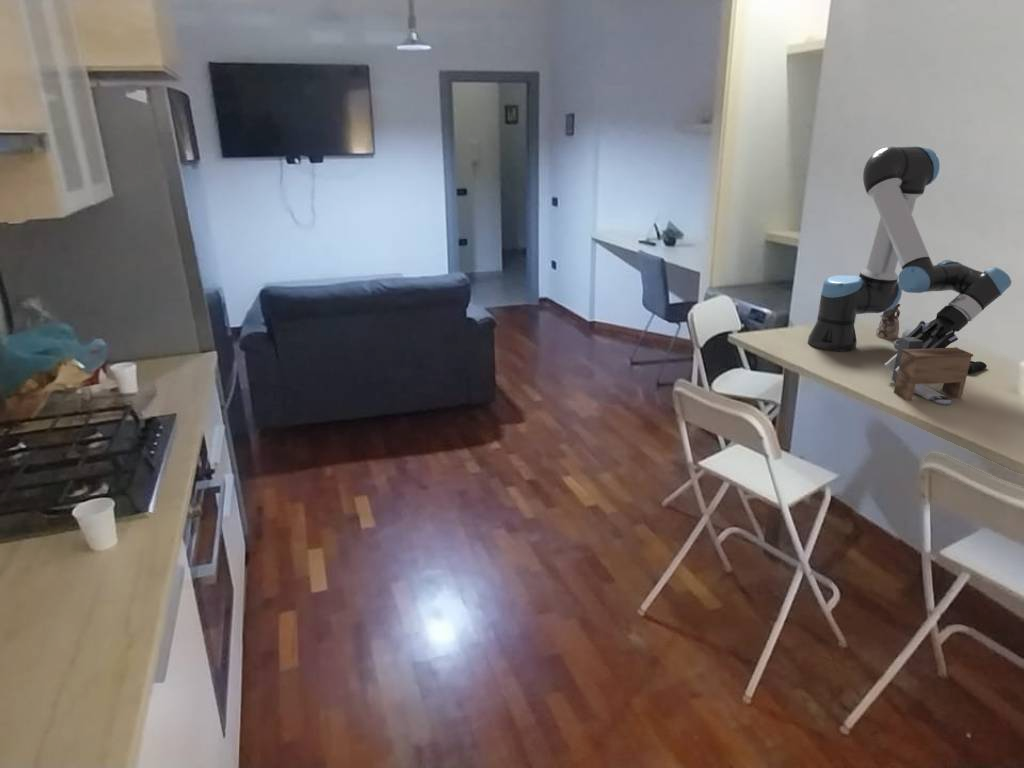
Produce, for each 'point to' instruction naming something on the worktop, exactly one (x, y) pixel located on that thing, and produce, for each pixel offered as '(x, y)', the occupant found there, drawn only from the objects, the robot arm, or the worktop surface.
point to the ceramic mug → (906, 335)
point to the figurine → (889, 324)
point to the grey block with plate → (903, 344)
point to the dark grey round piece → (941, 400)
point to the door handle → (976, 366)
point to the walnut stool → (932, 370)
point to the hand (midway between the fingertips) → (892, 370)
